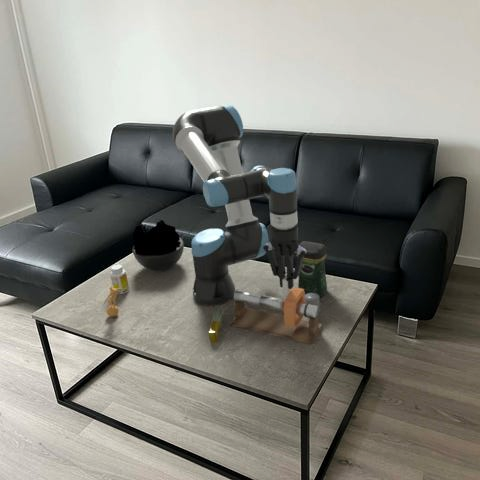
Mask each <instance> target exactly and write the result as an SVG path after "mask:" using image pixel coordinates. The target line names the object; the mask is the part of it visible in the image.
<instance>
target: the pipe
mask: <svg viewBox="0 0 480 480" xmlns="http://www.w3.org/2000/svg"><path fill="white" fill-rule="evenodd" d="M235 290H236V291H235V293H234V297H233V301H234V302H236V301H237V302H242V303H245V305H246V304H247V305H250V306H252V305H253V306H257V307H262V308H266V309H270V310H275V311H281V312H284V302H285V300H286V299H283V298H279V297H275V296H270V295H265V294H259V293H255V292H250V291H245V290H240V289H235ZM295 310H296V314H298V315H303V317H305V318H308V317H309V318H310V317H313V318H316V317H317V314H318V306H315V305H310V304H309V303H307V304H305V303H300V302H297V303H296V307H295Z"/></svg>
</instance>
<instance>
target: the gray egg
mask: <svg viewBox="0 0 480 480" xmlns="http://www.w3.org/2000/svg"><path fill="white" fill-rule="evenodd" d="M307 303H309V304H310V305H315V306H318V313H319V314H320V297H319V295H318V294H316V293H308V294H306V295H305V304H307Z"/></svg>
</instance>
